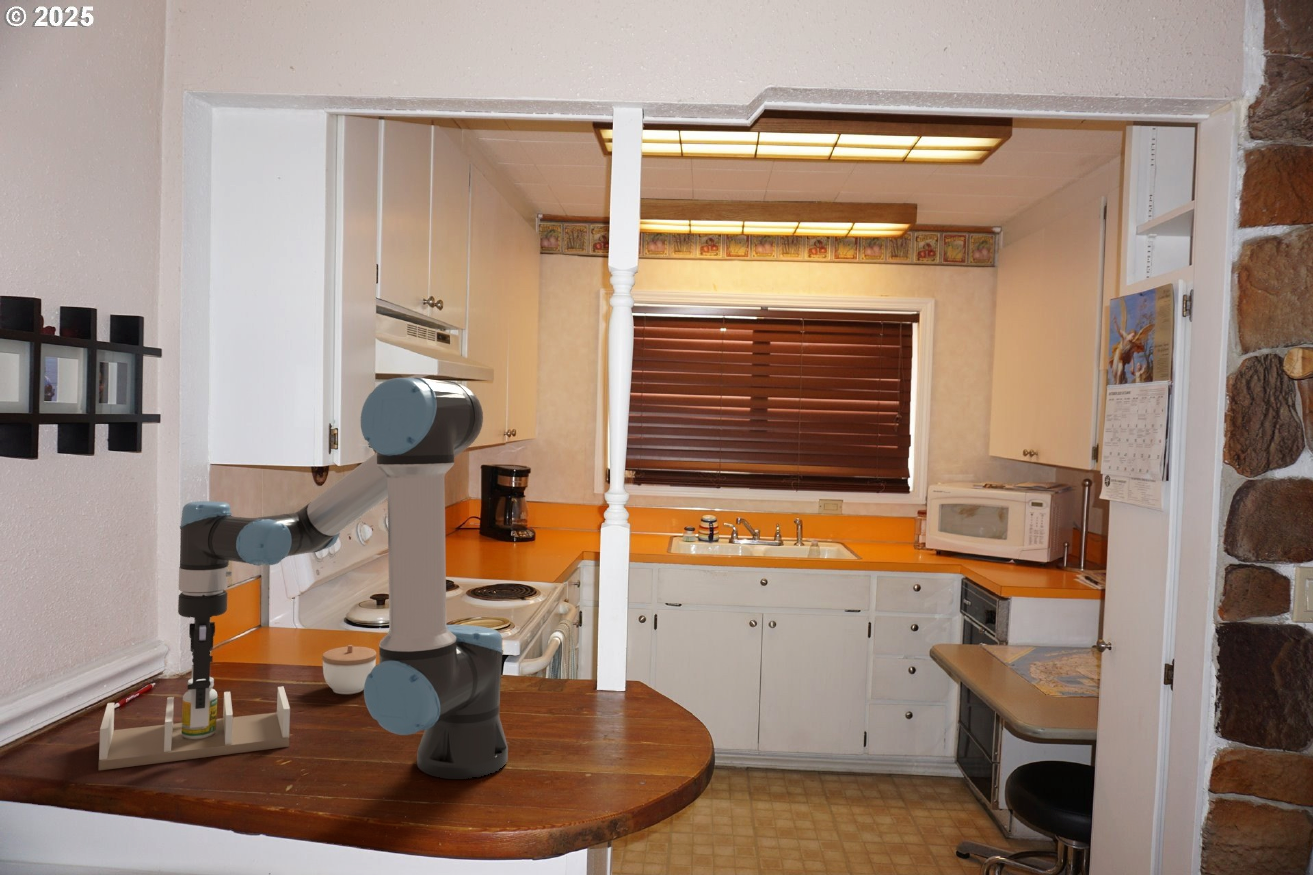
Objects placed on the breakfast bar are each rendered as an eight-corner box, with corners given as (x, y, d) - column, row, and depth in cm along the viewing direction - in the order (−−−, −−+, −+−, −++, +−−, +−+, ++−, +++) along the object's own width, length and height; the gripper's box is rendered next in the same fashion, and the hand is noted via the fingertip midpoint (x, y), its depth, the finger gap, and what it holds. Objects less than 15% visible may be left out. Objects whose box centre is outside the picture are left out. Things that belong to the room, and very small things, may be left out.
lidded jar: (348, 701, 175) (350, 655, 175) (309, 691, 180) (311, 647, 179) (386, 687, 185) (387, 643, 185) (348, 678, 189) (349, 636, 189)
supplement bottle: (184, 729, 152) (186, 675, 152) (218, 727, 154) (220, 674, 154) (178, 741, 147) (180, 685, 147) (214, 738, 149) (216, 683, 149)
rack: (288, 746, 151) (290, 709, 151) (98, 770, 138) (99, 729, 138) (282, 719, 163) (283, 685, 163) (106, 739, 150) (107, 702, 150)
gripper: (230, 605, 141) (225, 734, 141) (225, 576, 163) (221, 688, 163) (177, 608, 137) (172, 740, 138) (180, 578, 159) (176, 693, 160)
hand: (199, 712), depth 150 cm, fingers open, 13 cm apart
